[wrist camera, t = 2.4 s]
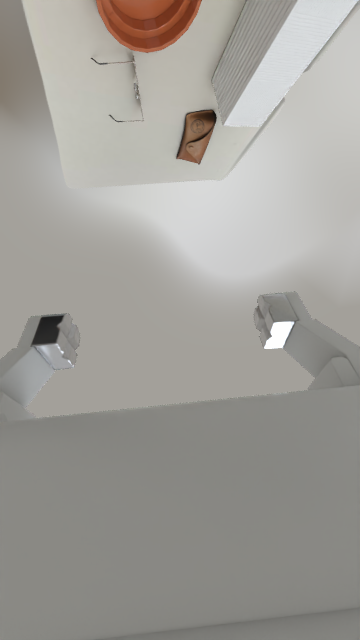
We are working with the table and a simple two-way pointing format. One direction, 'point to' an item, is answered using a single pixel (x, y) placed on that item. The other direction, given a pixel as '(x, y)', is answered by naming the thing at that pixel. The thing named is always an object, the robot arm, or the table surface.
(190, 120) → the sunglasses case
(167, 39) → the bowl
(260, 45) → the white ribbed block
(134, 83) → the eyeglasses
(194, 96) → the table surface
